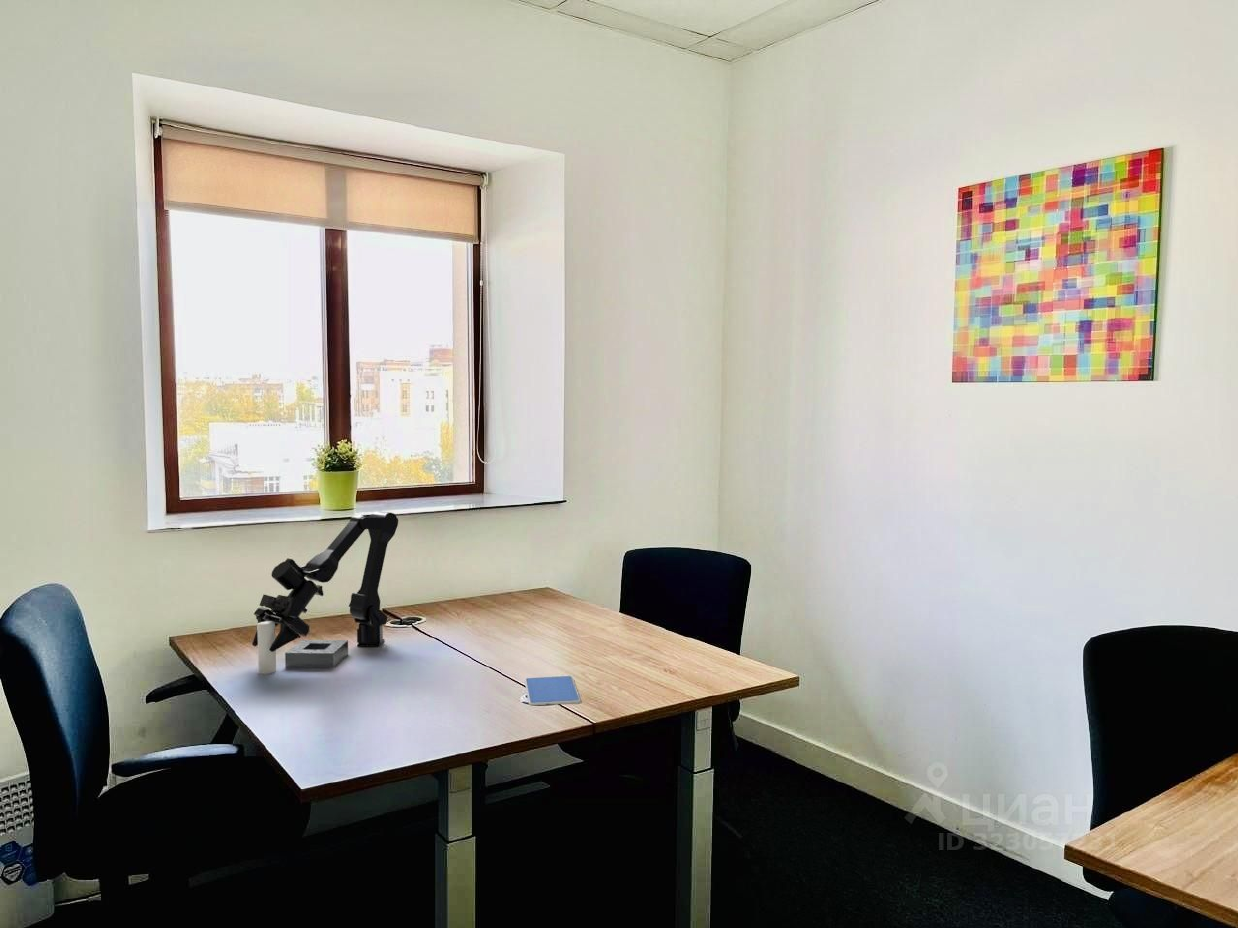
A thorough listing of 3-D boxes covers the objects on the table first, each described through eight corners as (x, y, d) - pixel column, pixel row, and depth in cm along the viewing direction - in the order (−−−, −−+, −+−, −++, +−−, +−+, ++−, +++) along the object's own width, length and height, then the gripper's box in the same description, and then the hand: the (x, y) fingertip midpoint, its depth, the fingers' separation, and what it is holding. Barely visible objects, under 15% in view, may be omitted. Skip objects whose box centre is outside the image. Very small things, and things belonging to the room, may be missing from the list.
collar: (348, 653, 261) (348, 640, 261) (333, 667, 248) (333, 653, 248) (302, 653, 261) (302, 639, 261) (285, 667, 248) (285, 652, 248)
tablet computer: (581, 705, 221) (581, 699, 221) (528, 708, 219) (528, 702, 219) (572, 680, 240) (572, 675, 240) (524, 682, 238) (524, 677, 238)
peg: (278, 668, 247) (277, 621, 246) (272, 673, 242) (271, 625, 241) (262, 668, 247) (261, 621, 246) (255, 673, 242) (254, 625, 241)
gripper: (259, 578, 252) (222, 625, 244) (298, 587, 240) (260, 637, 232) (286, 601, 258) (250, 648, 251) (325, 611, 247) (289, 660, 239)
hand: (262, 648), depth 243 cm, fingers open, 8 cm apart
